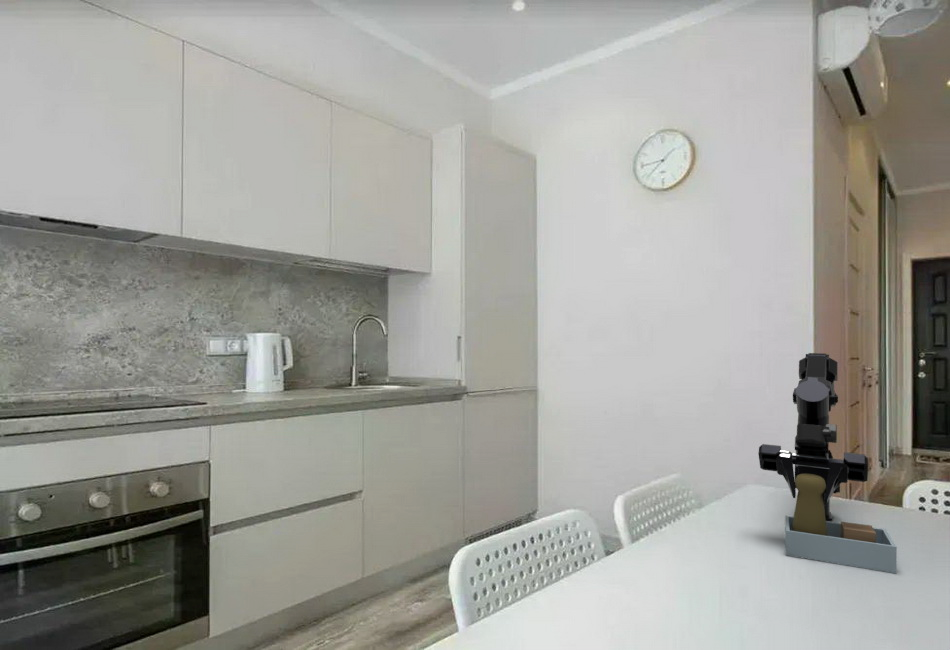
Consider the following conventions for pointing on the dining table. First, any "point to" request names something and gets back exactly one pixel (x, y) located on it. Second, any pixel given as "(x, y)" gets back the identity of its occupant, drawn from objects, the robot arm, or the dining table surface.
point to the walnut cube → (858, 532)
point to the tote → (842, 547)
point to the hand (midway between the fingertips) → (809, 499)
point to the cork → (810, 505)
